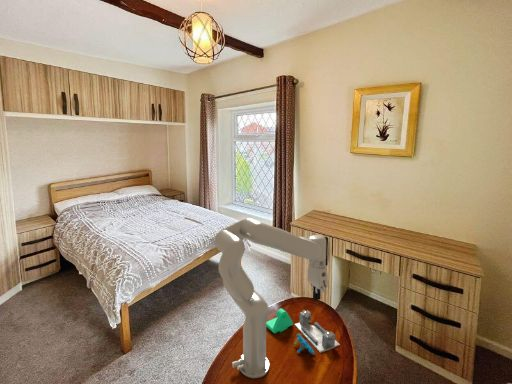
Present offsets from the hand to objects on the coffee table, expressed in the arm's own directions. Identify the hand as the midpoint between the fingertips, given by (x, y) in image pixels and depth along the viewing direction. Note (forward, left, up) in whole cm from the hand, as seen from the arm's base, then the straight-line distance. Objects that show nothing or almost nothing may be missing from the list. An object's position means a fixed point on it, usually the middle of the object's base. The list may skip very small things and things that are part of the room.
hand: (316, 299), depth 124 cm
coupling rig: (+2, +1, -20) cm, 20 cm away
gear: (-8, -6, -21) cm, 23 cm away
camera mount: (-12, +14, -20) cm, 28 cm away
